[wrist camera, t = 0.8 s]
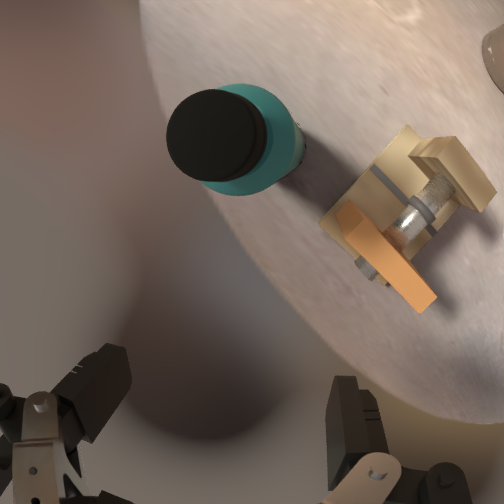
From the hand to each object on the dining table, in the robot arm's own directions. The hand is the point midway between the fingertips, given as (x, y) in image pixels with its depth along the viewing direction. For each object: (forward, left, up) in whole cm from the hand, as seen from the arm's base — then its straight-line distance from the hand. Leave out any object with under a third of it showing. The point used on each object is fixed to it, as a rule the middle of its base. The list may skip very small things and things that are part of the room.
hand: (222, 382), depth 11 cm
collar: (-9, -1, -22) cm, 24 cm away
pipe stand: (-11, -3, -23) cm, 26 cm away
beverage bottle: (+2, -9, -24) cm, 25 cm away
